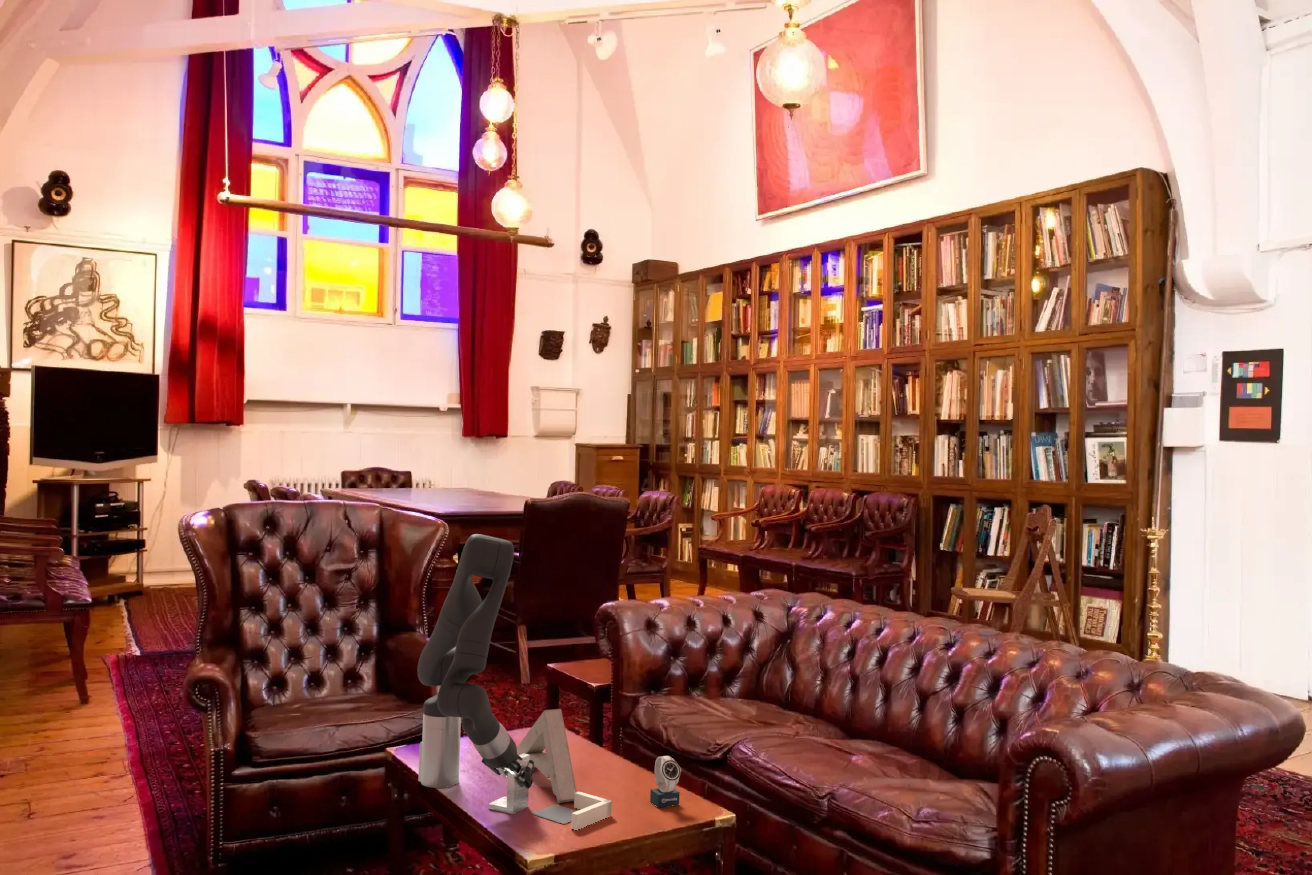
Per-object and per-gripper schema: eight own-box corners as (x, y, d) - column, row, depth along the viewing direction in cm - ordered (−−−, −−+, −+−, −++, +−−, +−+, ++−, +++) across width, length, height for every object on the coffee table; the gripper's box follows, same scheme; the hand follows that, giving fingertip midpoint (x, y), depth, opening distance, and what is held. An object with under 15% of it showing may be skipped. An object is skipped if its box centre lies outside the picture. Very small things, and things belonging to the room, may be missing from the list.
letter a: (541, 836, 258) (577, 798, 237) (524, 839, 256) (560, 800, 235) (527, 752, 270) (561, 708, 249) (511, 754, 268) (544, 710, 247)
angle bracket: (488, 808, 231) (490, 756, 231) (504, 801, 236) (505, 750, 237) (512, 814, 228) (514, 761, 228) (528, 806, 233) (529, 754, 234)
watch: (661, 810, 233) (663, 763, 233) (647, 800, 240) (648, 753, 241) (683, 807, 235) (684, 760, 236) (667, 797, 243) (669, 751, 243)
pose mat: (531, 814, 228) (531, 813, 228) (555, 805, 235) (555, 804, 235) (564, 824, 222) (564, 823, 222) (587, 815, 229) (587, 814, 229)
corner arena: (542, 819, 225) (543, 804, 225) (578, 806, 234) (578, 791, 234) (576, 830, 219) (576, 814, 219) (611, 816, 228) (611, 800, 228)
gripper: (527, 732, 222) (555, 773, 232) (475, 723, 228) (505, 764, 239) (512, 762, 217) (542, 803, 227) (460, 752, 223) (491, 792, 234)
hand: (523, 783), depth 233 cm, fingers open, 3 cm apart
